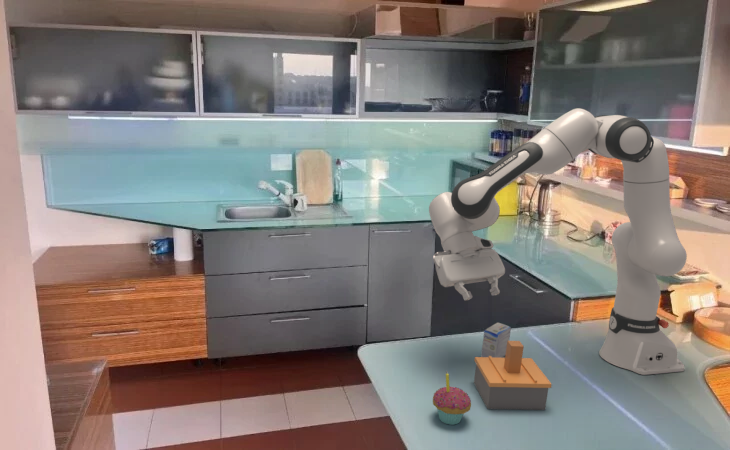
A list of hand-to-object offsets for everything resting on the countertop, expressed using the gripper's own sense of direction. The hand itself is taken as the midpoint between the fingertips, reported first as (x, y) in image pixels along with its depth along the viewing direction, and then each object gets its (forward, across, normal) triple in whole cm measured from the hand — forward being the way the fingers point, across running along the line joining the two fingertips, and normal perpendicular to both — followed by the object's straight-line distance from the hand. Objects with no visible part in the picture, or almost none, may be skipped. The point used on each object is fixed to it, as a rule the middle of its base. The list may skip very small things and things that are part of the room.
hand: (482, 296), depth 145 cm
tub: (+24, 0, +6) cm, 25 cm away
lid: (+21, 0, +3) cm, 21 cm away
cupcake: (+25, -19, +6) cm, 32 cm away
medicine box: (+12, +12, +19) cm, 25 cm away
